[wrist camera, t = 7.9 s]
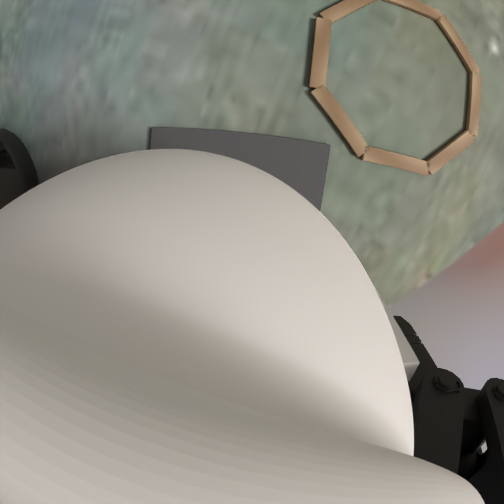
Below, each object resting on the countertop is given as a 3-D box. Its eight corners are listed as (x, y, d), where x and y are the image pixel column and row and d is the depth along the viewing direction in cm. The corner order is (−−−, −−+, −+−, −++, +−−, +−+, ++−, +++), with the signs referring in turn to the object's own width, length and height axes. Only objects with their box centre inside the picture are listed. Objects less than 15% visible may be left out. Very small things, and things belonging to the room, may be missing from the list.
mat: (150, 253, 26) (148, 255, 26) (154, 127, 22) (152, 127, 22) (306, 271, 27) (307, 273, 26) (329, 144, 22) (330, 144, 22)
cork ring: (300, 148, 23) (301, 149, 22) (319, -26, 17) (320, -29, 16) (465, 186, 23) (468, 187, 23) (477, 33, 17) (480, 32, 16)
